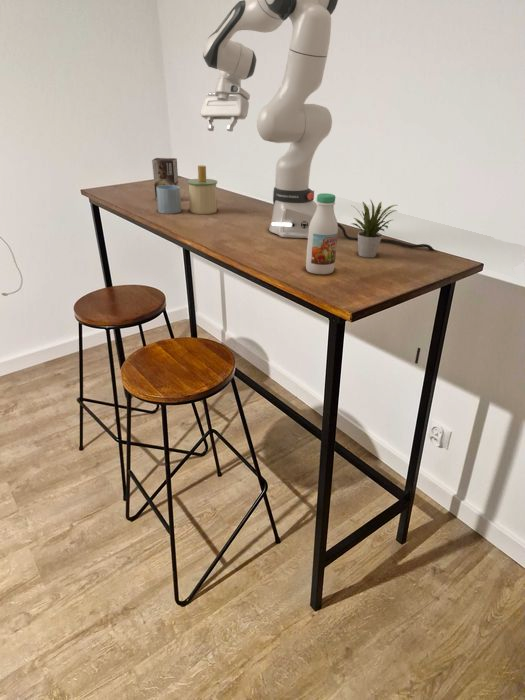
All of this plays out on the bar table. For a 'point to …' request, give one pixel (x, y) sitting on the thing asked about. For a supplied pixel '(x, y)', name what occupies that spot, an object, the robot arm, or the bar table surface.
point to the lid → (202, 178)
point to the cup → (168, 199)
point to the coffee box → (165, 172)
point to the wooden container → (202, 199)
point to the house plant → (371, 230)
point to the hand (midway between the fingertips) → (219, 130)
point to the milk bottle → (322, 237)
